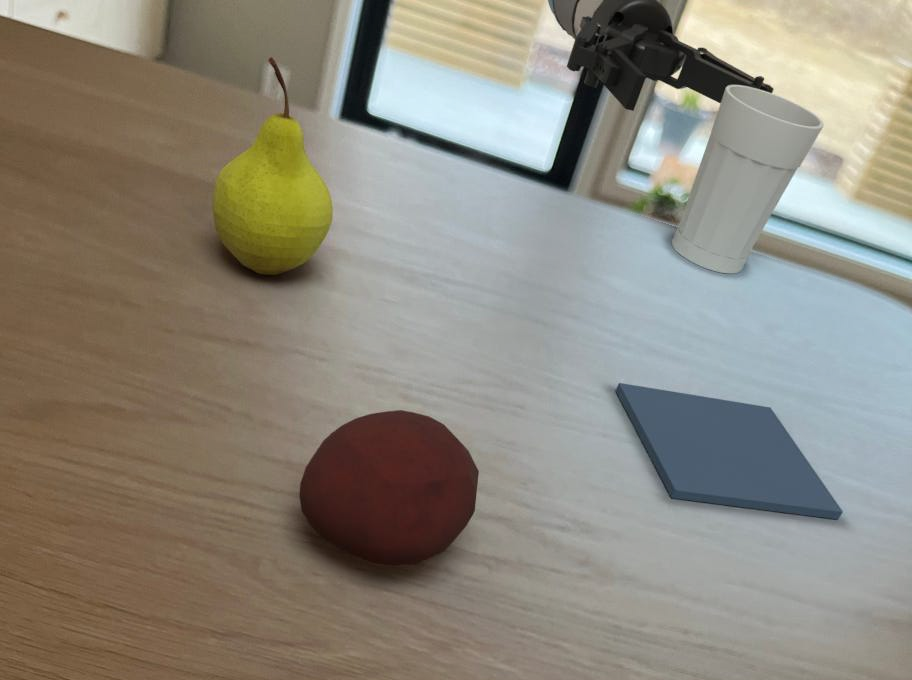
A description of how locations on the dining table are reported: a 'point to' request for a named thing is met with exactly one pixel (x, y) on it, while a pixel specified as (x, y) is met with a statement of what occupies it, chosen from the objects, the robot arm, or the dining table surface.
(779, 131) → the cup
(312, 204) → the fruit
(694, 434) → the mat
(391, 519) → the potato
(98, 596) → the dining table surface
